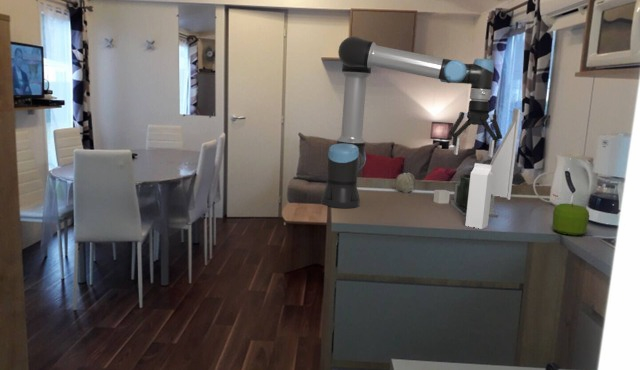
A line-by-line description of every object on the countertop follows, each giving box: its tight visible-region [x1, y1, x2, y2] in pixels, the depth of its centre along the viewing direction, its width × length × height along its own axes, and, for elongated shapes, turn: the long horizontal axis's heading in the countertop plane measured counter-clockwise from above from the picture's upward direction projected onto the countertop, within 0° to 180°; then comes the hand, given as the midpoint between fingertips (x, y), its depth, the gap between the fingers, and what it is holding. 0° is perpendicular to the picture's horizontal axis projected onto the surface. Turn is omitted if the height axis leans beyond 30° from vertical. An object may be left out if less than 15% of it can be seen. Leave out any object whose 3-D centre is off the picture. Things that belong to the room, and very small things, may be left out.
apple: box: [551, 203, 590, 236], centre depth 181 cm, size 11×11×11 cm
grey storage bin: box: [448, 181, 499, 218], centre depth 211 cm, size 13×24×9 cm, turn 0°
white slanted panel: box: [489, 108, 522, 201], centre depth 244 cm, size 20×14×40 cm
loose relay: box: [433, 189, 451, 204], centre depth 223 cm, size 5×4×5 cm
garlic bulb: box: [393, 172, 416, 194], centre depth 241 cm, size 9×8×10 cm
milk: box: [465, 162, 493, 230], centre depth 183 cm, size 6×6×22 cm
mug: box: [458, 173, 471, 207], centre depth 211 cm, size 11×15×12 cm
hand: (472, 155), depth 206 cm, fingers open, 13 cm apart
